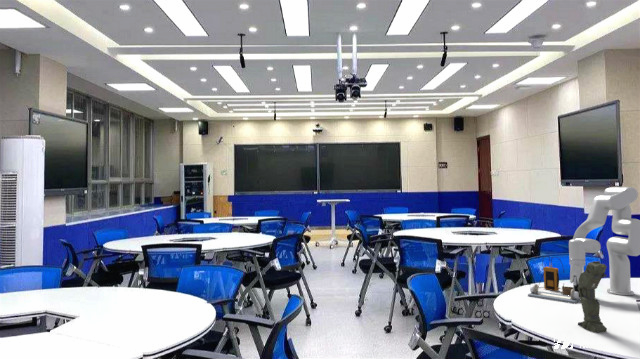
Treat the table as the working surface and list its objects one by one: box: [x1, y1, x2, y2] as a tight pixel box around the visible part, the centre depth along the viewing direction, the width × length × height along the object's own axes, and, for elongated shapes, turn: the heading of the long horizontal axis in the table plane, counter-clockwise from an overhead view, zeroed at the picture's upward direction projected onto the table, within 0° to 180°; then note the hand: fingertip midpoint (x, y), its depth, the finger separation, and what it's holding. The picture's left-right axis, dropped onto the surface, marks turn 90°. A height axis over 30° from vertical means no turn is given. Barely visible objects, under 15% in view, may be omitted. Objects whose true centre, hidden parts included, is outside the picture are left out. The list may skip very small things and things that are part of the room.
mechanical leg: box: [577, 260, 608, 333], centre depth 178 cm, size 14×7×30 cm, turn 5°
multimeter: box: [538, 255, 565, 292], centre depth 251 cm, size 15×10×20 cm
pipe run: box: [527, 283, 581, 304], centre depth 231 cm, size 12×23×6 cm, turn 45°
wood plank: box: [561, 285, 596, 296], centre depth 231 cm, size 15×2×5 cm, turn 54°
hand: (578, 295), depth 232 cm, fingers open, 4 cm apart
